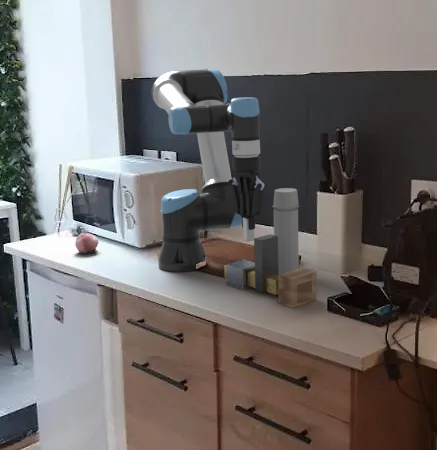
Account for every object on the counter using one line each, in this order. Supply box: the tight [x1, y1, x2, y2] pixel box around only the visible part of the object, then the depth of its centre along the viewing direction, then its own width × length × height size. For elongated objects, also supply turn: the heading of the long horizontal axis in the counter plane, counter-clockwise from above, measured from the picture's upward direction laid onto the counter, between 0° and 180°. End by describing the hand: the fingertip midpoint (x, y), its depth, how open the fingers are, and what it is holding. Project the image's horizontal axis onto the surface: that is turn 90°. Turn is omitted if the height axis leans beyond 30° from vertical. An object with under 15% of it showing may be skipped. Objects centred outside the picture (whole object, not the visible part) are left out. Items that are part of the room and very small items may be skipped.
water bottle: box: [271, 187, 300, 275], centre depth 212 cm, size 9×8×25 cm
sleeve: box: [225, 259, 255, 291], centre depth 204 cm, size 7×7×6 cm
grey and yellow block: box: [223, 233, 279, 296], centre depth 199 cm, size 21×6×14 cm, turn 40°
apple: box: [74, 232, 99, 255], centre depth 244 cm, size 8×8×7 cm
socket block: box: [278, 267, 318, 309], centre depth 188 cm, size 5×9×8 cm, turn 130°
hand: (248, 240), depth 199 cm, fingers closed
